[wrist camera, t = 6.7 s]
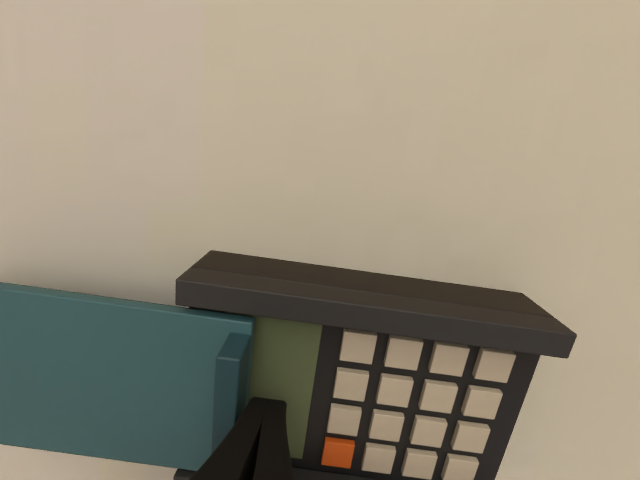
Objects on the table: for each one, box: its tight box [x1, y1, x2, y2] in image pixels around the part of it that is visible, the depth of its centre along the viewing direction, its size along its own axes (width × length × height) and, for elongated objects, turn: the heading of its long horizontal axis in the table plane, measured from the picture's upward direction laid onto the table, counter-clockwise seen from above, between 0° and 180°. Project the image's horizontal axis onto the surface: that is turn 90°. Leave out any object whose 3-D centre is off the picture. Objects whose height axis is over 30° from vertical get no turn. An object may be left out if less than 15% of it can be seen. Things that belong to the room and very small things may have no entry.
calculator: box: [174, 251, 577, 480], centre depth 14 cm, size 14×10×3 cm
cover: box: [0, 282, 255, 471], centre depth 12 cm, size 13×7×2 cm, turn 82°
